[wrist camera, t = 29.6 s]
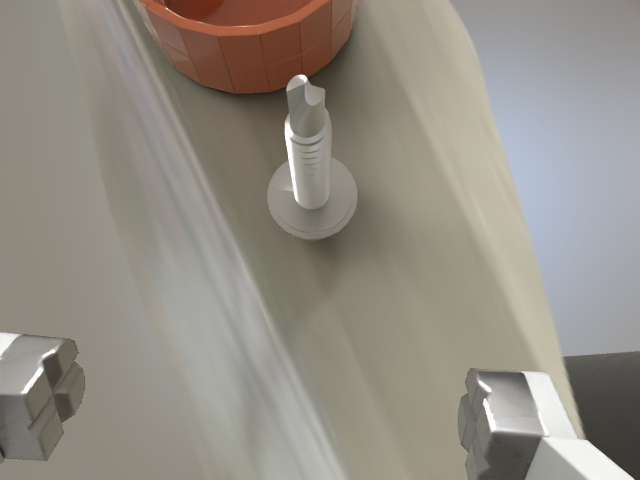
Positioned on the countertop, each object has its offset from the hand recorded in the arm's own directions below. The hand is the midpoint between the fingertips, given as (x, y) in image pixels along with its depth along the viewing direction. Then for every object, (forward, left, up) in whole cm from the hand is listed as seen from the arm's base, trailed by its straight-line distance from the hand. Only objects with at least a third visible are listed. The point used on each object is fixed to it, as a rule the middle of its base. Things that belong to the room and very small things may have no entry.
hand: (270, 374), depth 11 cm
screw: (-4, -9, -17) cm, 20 cm away
